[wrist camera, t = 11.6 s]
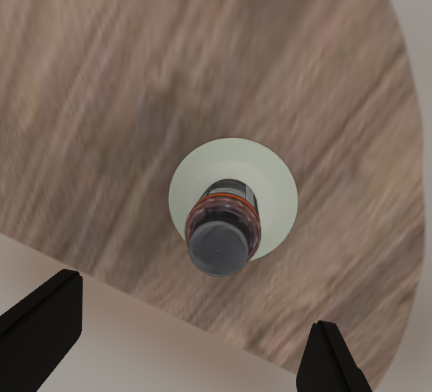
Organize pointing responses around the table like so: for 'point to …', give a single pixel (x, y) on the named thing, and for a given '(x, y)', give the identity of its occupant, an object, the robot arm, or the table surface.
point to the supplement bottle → (223, 228)
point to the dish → (245, 172)
